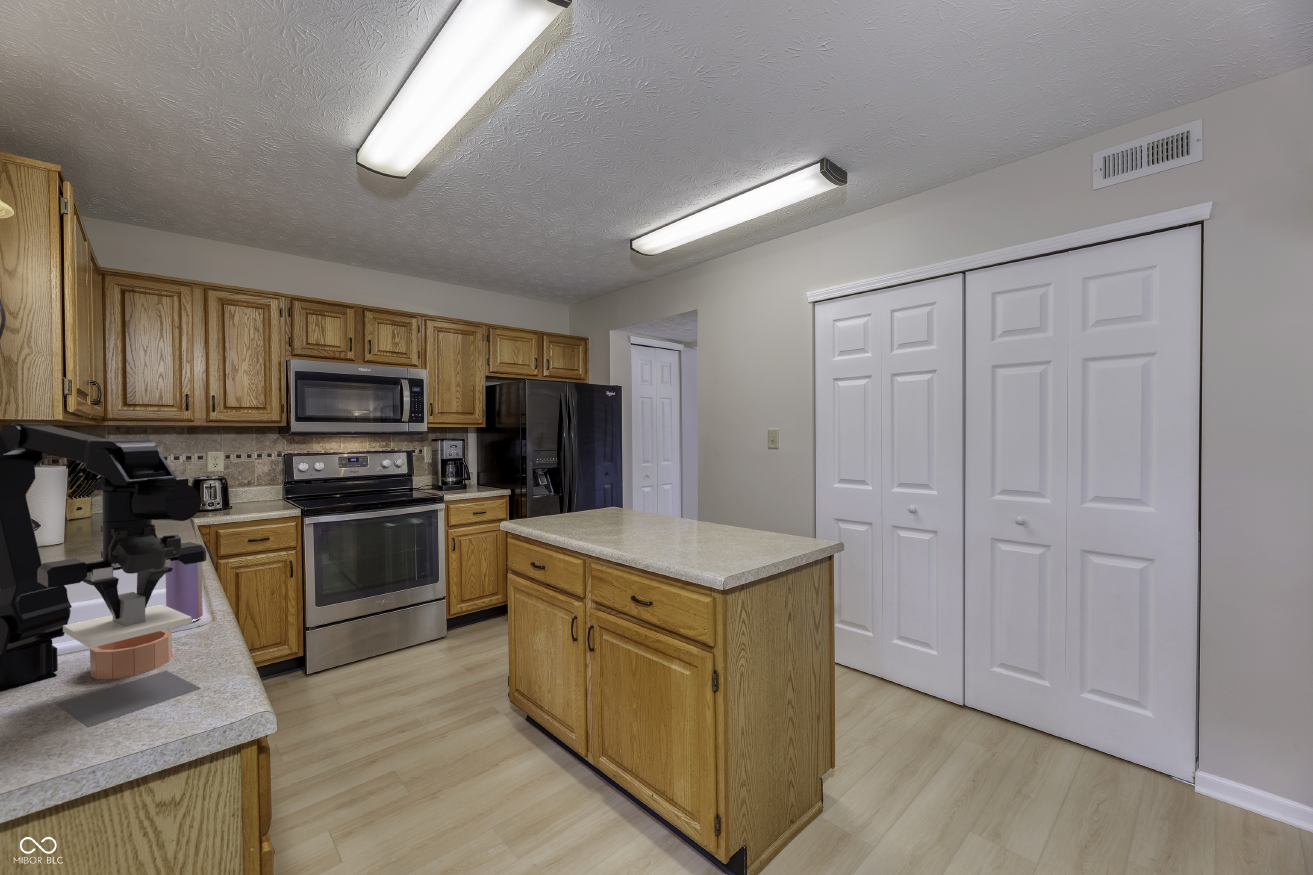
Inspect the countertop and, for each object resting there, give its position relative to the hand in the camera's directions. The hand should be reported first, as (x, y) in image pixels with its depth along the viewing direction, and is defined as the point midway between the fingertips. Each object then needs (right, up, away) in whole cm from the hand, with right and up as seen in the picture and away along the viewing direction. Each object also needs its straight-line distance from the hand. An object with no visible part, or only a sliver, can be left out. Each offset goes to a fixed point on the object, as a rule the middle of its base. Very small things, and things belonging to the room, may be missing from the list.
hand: (128, 616), depth 88 cm
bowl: (-7, -12, +8) cm, 16 cm away
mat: (+3, -12, -3) cm, 13 cm away
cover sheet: (0, -2, 0) cm, 2 cm away
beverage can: (-18, -12, +31) cm, 38 cm away
